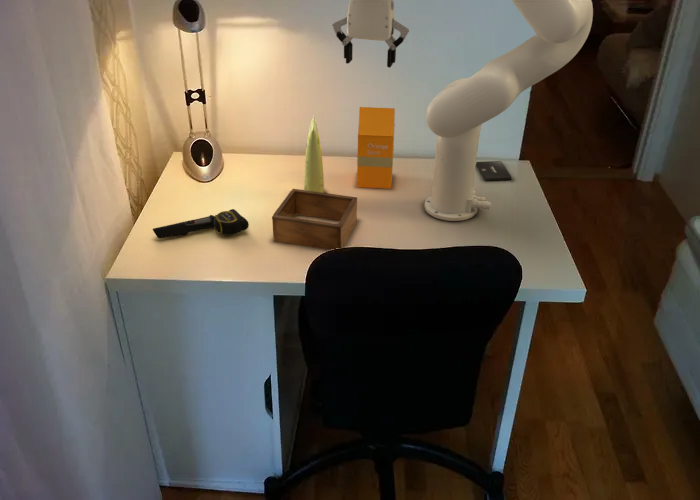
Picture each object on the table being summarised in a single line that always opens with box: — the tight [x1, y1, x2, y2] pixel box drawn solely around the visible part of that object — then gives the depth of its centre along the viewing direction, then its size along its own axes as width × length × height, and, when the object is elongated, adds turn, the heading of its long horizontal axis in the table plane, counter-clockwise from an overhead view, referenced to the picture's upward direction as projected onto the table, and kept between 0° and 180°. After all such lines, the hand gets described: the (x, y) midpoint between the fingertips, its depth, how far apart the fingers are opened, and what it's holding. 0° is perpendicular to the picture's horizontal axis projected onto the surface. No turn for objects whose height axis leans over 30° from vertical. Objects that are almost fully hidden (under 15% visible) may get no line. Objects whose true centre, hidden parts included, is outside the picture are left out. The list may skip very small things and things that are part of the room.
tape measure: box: [214, 208, 250, 236], centre depth 157 cm, size 7×7×4 cm
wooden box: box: [271, 188, 358, 251], centre depth 157 cm, size 16×14×6 cm
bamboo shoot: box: [303, 114, 325, 193], centre depth 168 cm, size 6×5×20 cm
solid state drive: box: [476, 160, 513, 182], centre depth 185 cm, size 7×10×1 cm
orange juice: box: [356, 106, 396, 190], centre depth 174 cm, size 8×9×20 cm
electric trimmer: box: [152, 214, 217, 239], centre depth 157 cm, size 4×16×3 cm, turn 114°
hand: (369, 63), depth 159 cm, fingers open, 9 cm apart
